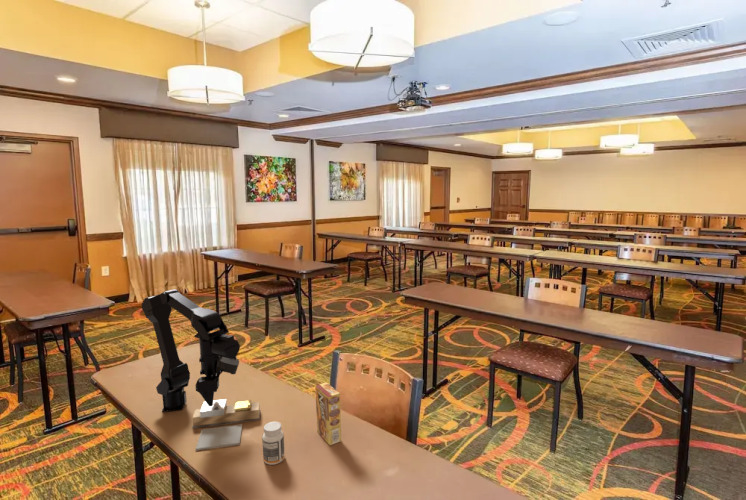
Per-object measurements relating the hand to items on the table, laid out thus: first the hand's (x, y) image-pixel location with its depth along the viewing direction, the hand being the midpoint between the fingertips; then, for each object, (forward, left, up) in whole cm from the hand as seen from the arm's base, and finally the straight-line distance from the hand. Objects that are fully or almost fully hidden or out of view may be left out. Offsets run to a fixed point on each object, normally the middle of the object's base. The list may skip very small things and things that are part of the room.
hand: (212, 398), depth 132 cm
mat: (+3, -10, -8) cm, 13 cm away
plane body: (+4, 0, -8) cm, 9 cm away
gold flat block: (+11, 0, -4) cm, 12 cm away
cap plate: (0, 0, -4) cm, 4 cm away
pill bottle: (+19, -24, -8) cm, 32 cm away
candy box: (+35, -17, -8) cm, 40 cm away
